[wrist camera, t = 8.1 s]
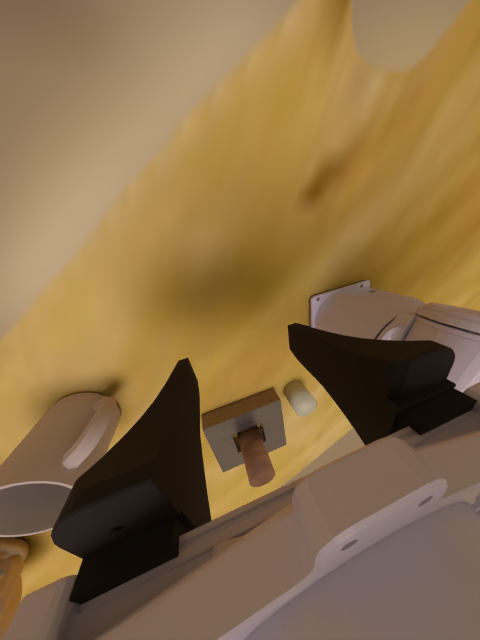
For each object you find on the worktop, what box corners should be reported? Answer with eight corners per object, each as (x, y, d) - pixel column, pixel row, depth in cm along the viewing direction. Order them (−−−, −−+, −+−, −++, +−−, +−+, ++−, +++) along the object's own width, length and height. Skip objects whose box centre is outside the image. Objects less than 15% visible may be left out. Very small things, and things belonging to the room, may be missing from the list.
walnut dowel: (250, 412, 29) (270, 465, 22) (257, 423, 31) (278, 476, 24) (231, 423, 29) (245, 480, 22) (240, 433, 31) (255, 490, 24)
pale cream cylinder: (301, 377, 29) (317, 395, 26) (302, 392, 31) (317, 411, 27) (282, 384, 29) (295, 404, 25) (284, 399, 30) (296, 419, 27)
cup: (35, 420, 20) (-65, 533, 12) (94, 364, 19) (28, 446, 12) (97, 440, 23) (50, 539, 16) (149, 393, 23) (128, 471, 15)
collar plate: (273, 387, 28) (280, 399, 26) (280, 431, 34) (286, 444, 31) (201, 414, 27) (202, 430, 24) (220, 456, 32) (223, 472, 30)
